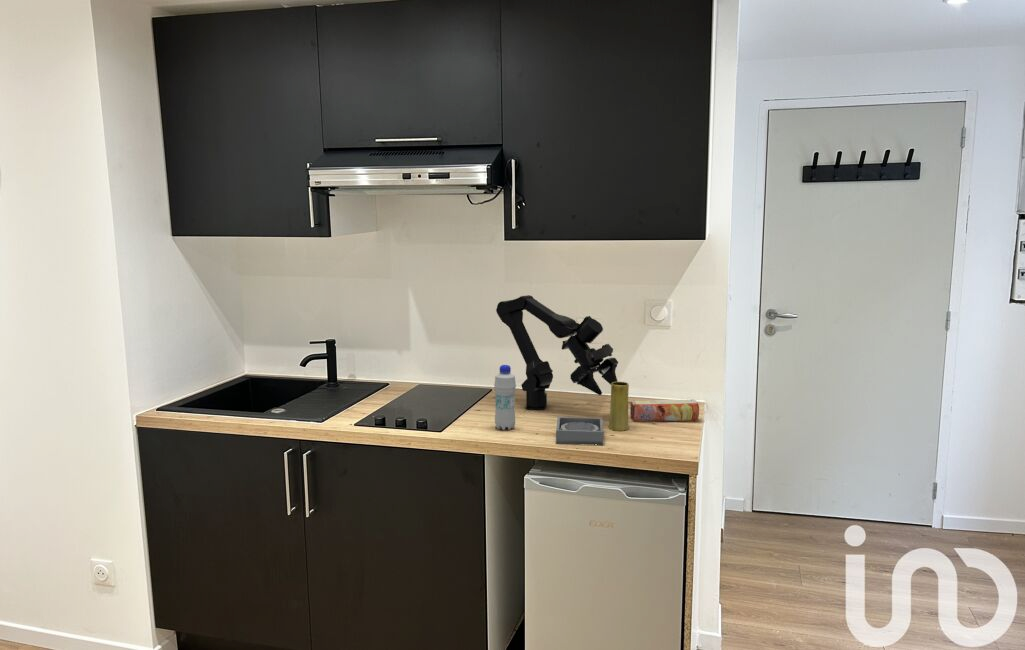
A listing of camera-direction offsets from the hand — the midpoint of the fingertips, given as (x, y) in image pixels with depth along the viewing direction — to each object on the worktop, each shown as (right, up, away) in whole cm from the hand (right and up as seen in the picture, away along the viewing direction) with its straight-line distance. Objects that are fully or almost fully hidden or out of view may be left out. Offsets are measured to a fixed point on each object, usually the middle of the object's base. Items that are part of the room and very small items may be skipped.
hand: (609, 391), depth 234 cm
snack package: (+19, -10, +9) cm, 23 cm away
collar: (-10, -13, -9) cm, 19 cm away
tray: (-10, -13, -9) cm, 19 cm away
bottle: (-33, -11, -1) cm, 34 cm away
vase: (+3, -11, 0) cm, 12 cm away
